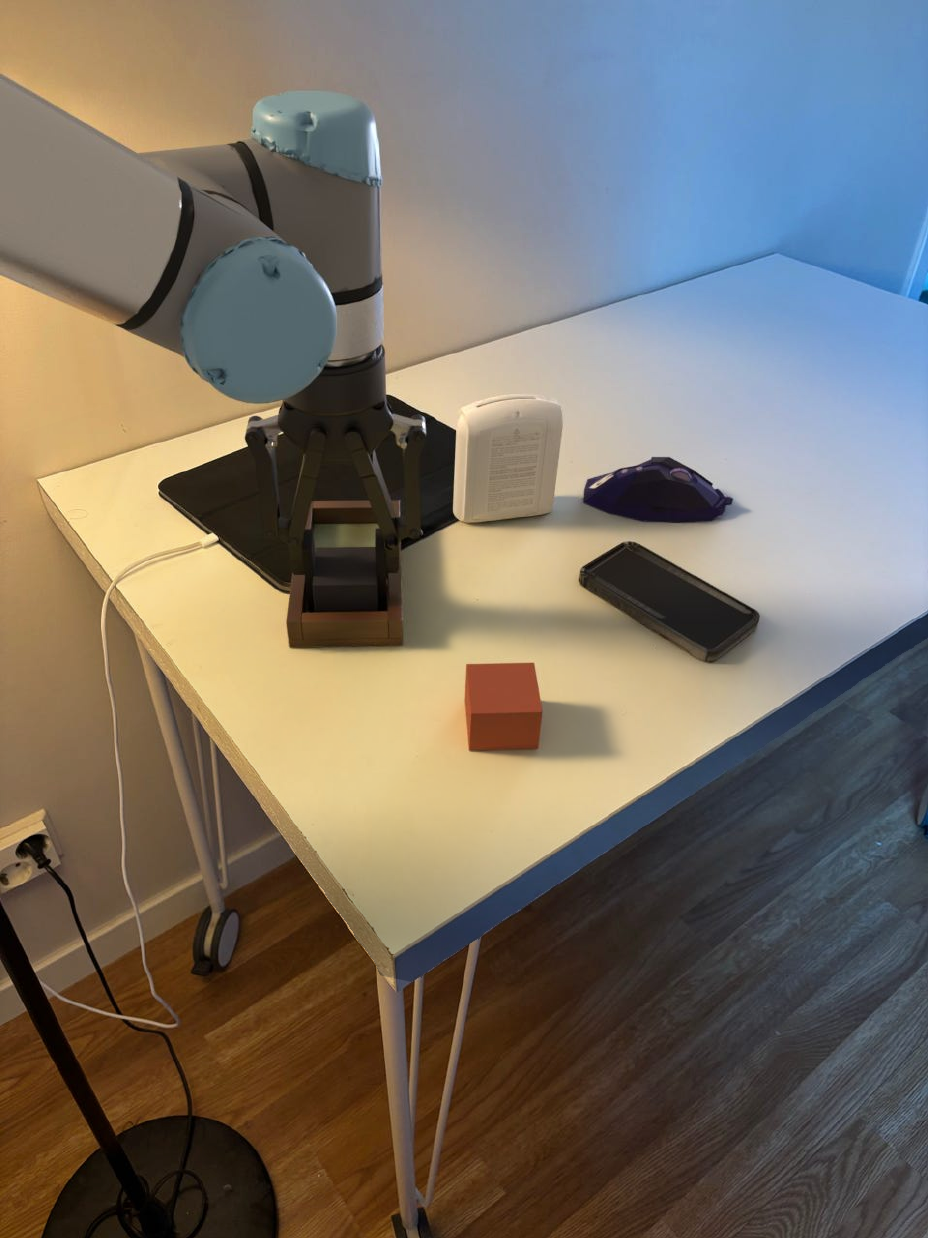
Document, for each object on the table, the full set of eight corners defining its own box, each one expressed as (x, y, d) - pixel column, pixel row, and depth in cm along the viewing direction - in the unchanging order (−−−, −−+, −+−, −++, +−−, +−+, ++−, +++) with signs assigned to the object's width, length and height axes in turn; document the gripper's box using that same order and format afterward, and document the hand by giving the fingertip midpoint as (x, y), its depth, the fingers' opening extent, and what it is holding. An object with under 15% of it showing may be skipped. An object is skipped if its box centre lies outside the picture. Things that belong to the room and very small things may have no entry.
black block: (316, 622, 80) (312, 585, 77) (319, 583, 84) (315, 547, 81) (378, 621, 80) (376, 584, 78) (378, 582, 84) (377, 546, 82)
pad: (468, 751, 71) (470, 713, 68) (464, 700, 75) (466, 663, 72) (538, 749, 71) (542, 711, 69) (530, 699, 75) (534, 662, 72)
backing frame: (289, 647, 79) (286, 622, 77) (302, 525, 92) (300, 500, 90) (403, 645, 79) (402, 620, 78) (400, 524, 93) (399, 499, 91)
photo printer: (544, 492, 98) (556, 381, 90) (559, 515, 95) (572, 402, 87) (447, 504, 95) (450, 392, 87) (459, 529, 92) (462, 414, 84)
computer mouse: (589, 464, 102) (593, 431, 100) (729, 483, 100) (738, 450, 98) (579, 512, 95) (584, 478, 93) (730, 533, 93) (739, 499, 91)
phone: (629, 538, 90) (765, 614, 82) (627, 547, 91) (762, 624, 83) (573, 571, 86) (711, 656, 78) (572, 581, 86) (708, 666, 78)
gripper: (457, 321, 70) (451, 571, 85) (206, 321, 69) (245, 574, 84) (463, 367, 65) (456, 626, 80) (191, 368, 63) (235, 631, 78)
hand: (348, 599), depth 82 cm, fingers closed on black block, 5 cm apart
